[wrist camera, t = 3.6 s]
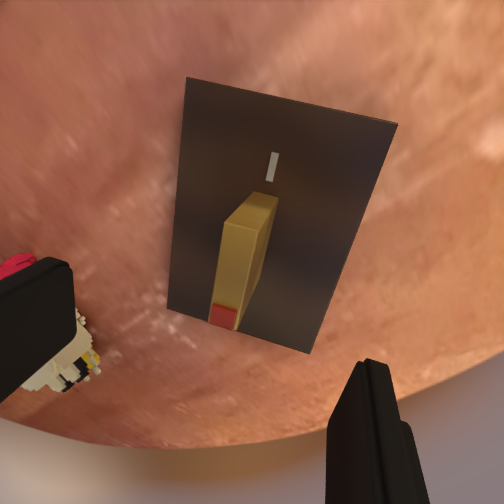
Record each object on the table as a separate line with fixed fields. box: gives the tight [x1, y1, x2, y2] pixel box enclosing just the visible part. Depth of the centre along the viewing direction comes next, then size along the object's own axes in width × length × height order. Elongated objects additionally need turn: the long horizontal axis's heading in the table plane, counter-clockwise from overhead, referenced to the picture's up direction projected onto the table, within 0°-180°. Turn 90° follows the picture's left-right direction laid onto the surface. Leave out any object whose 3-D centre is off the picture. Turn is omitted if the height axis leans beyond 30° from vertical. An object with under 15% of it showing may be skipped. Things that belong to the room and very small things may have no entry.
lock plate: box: [167, 77, 398, 354], centre depth 18 cm, size 14×10×2 cm
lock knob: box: [208, 192, 279, 330], centre depth 15 cm, size 5×1×5 cm, turn 169°
